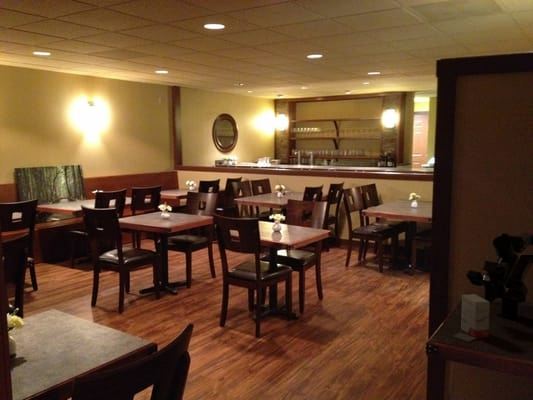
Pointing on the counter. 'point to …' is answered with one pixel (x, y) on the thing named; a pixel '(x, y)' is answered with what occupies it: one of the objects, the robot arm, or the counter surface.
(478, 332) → the ink box
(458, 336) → the mat
